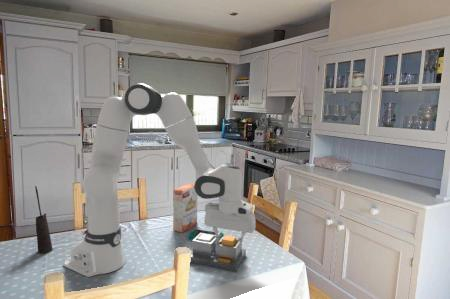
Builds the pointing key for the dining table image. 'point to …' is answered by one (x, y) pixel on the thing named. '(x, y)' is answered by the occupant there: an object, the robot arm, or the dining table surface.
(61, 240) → the dining table surface
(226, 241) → the orange cube
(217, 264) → the twin switch block
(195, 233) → the digital multimeter
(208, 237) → the breaker
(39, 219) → the butter churn
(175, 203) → the cracker box
